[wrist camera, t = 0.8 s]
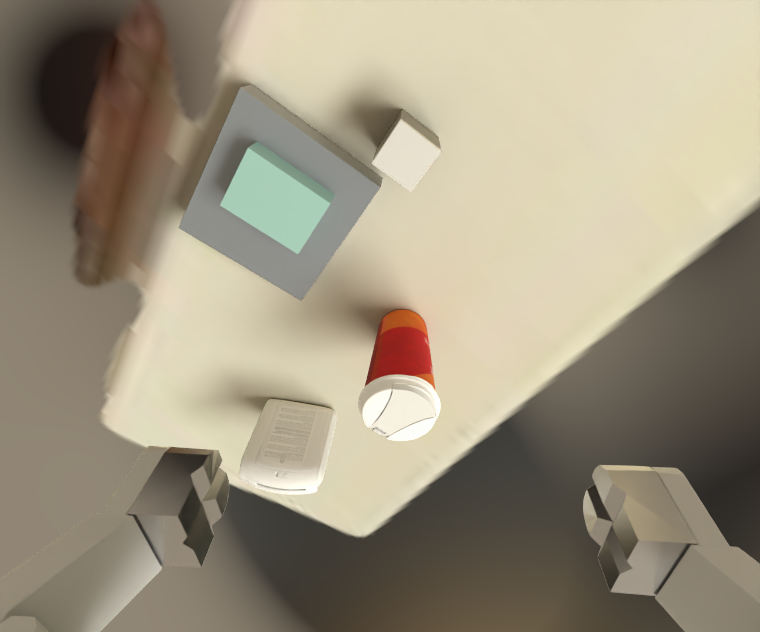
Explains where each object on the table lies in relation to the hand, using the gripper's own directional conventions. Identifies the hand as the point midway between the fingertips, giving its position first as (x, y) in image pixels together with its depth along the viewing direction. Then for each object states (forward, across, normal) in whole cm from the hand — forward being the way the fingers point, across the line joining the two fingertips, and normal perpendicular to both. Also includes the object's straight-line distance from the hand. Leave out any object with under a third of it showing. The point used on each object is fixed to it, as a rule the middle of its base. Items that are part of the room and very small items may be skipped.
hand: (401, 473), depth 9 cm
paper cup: (+36, 0, +21) cm, 41 cm away
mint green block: (+33, +12, +4) cm, 35 cm away
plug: (+36, 0, 0) cm, 36 cm away
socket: (+36, +13, +5) cm, 38 cm away
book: (+36, +14, +35) cm, 53 cm away
